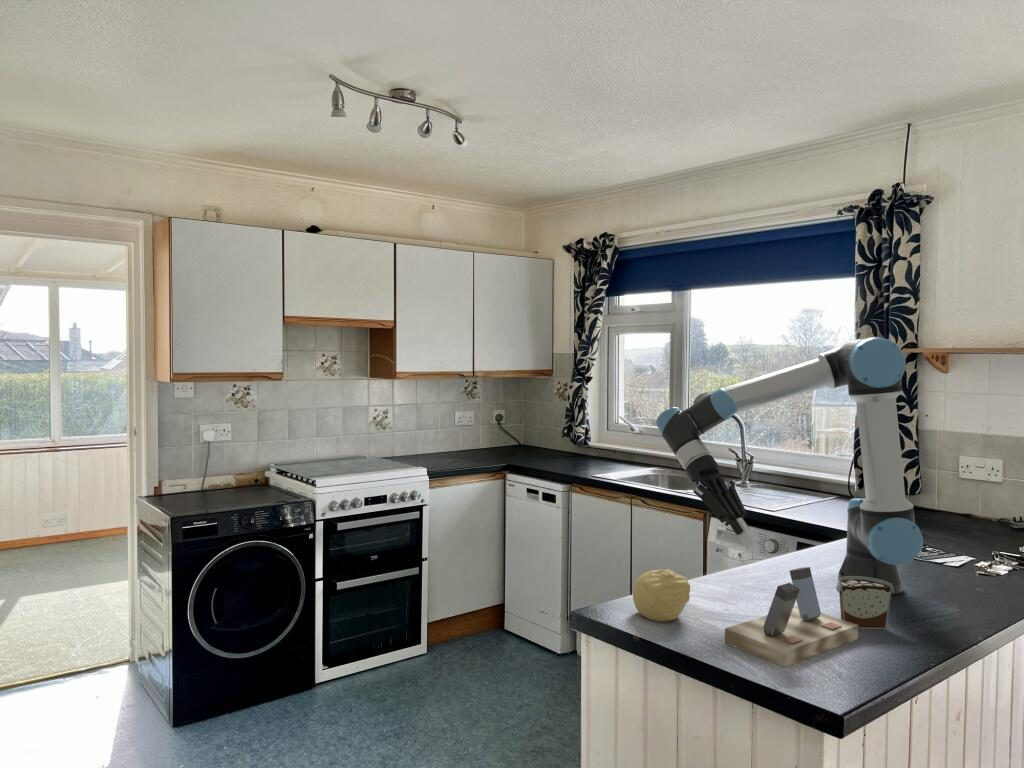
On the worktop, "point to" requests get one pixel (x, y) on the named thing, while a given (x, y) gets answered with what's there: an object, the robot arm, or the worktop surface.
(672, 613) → the pale yellow wrinkled ball
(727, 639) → the switch board
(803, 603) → the lever
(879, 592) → the food container
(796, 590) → the lever
